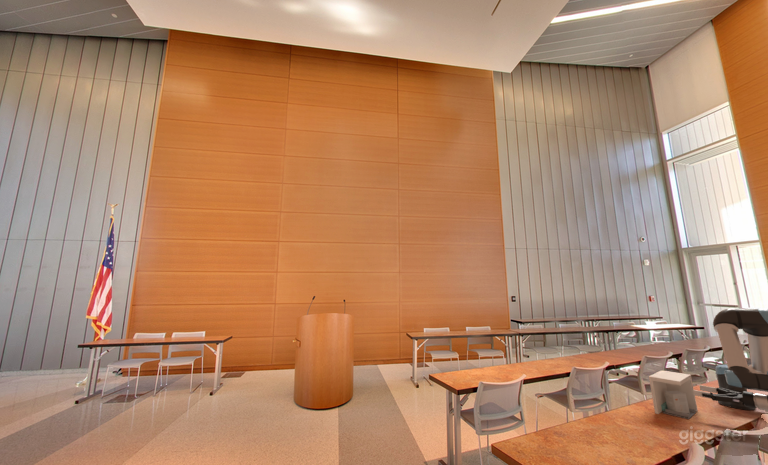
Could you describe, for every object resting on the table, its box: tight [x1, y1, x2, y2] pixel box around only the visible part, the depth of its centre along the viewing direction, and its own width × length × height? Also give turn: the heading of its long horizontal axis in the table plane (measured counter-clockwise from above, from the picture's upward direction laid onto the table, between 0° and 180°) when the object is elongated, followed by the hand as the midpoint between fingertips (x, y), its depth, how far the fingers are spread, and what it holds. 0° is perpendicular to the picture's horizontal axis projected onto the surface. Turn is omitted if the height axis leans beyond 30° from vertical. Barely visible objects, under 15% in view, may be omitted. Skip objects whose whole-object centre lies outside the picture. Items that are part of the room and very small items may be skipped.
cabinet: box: [648, 369, 699, 420], centre depth 179 cm, size 14×24×20 cm, turn 125°
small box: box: [664, 391, 690, 413], centre depth 178 cm, size 8×6×10 cm
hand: (696, 390), depth 171 cm, fingers open, 13 cm apart
